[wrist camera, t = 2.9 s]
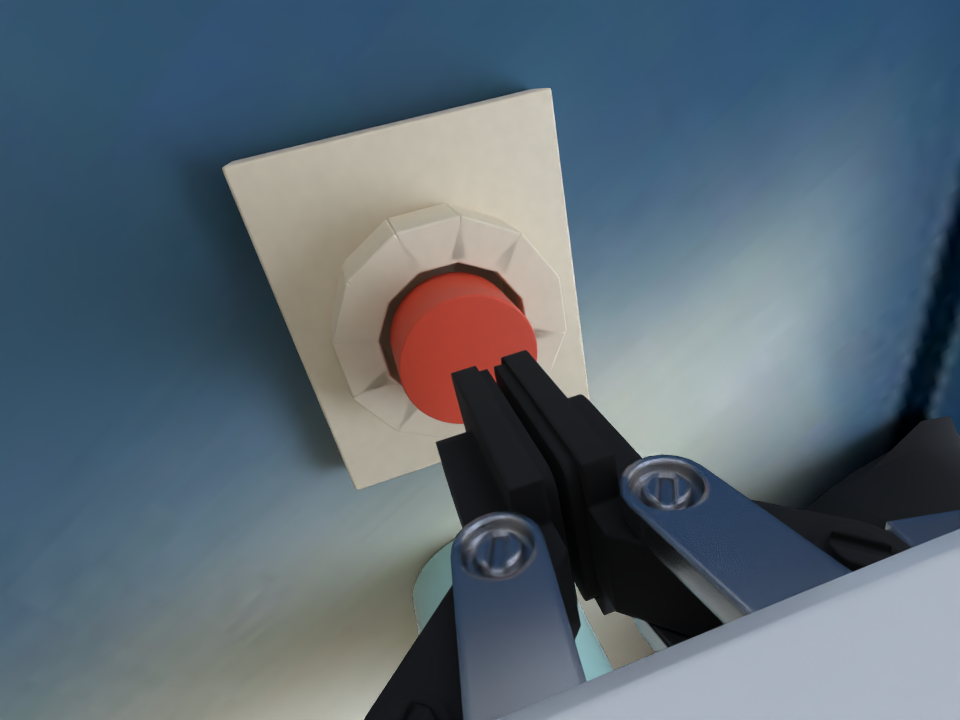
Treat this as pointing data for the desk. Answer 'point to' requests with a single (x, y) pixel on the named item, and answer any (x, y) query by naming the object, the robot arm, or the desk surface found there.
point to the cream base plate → (411, 255)
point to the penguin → (902, 479)
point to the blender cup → (439, 581)
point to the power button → (453, 337)
